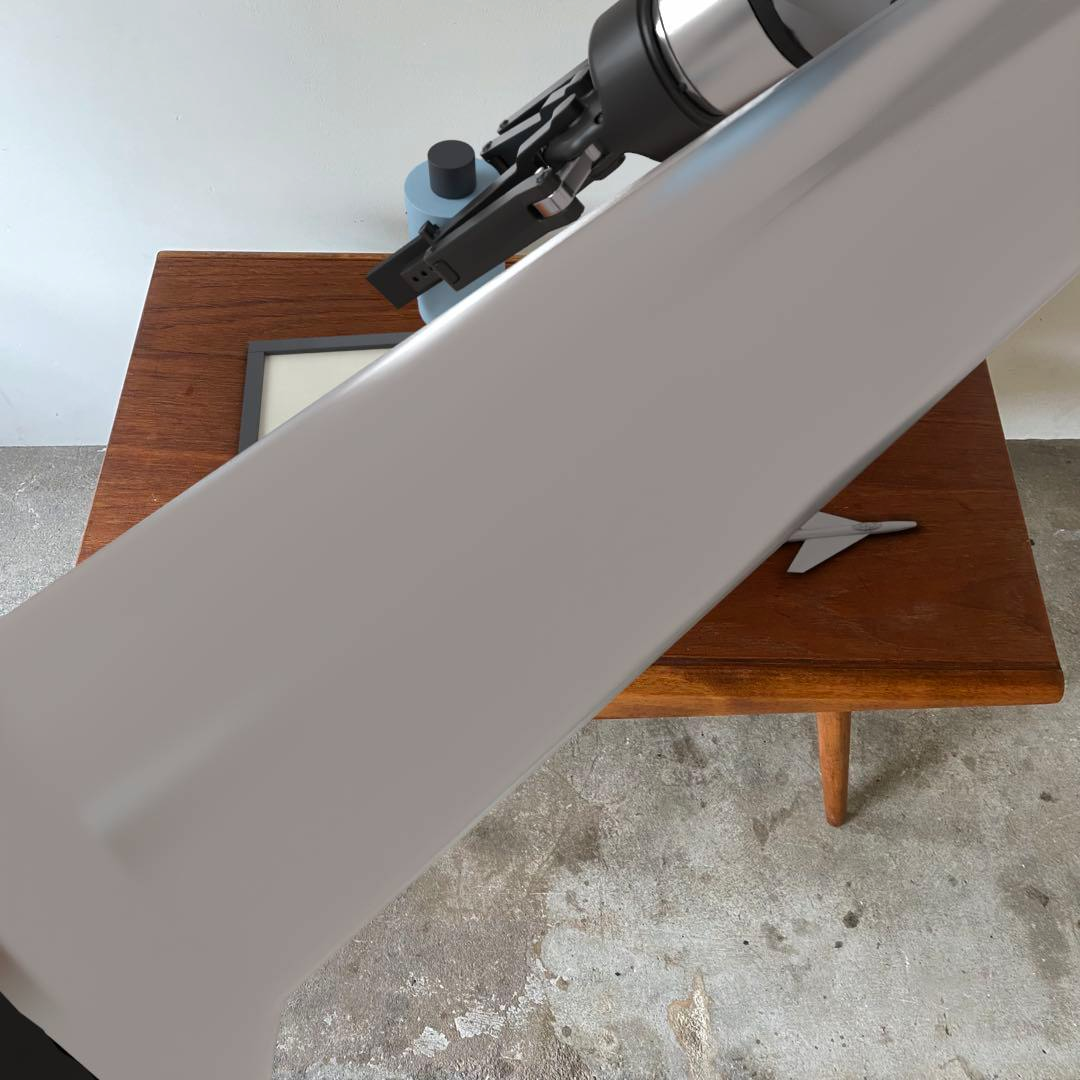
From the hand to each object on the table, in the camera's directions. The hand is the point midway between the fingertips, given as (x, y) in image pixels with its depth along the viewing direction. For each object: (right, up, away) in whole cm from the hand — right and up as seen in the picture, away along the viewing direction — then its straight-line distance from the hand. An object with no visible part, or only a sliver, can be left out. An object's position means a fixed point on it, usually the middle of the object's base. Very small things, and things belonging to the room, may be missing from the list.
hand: (404, 256), depth 60 cm
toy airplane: (+32, -18, +27) cm, 46 cm away
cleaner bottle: (+3, -3, +2) cm, 5 cm away
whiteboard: (-11, -5, +34) cm, 36 cm away
